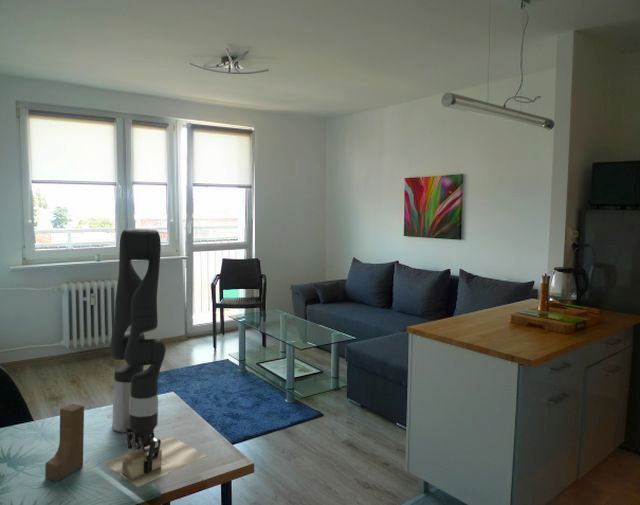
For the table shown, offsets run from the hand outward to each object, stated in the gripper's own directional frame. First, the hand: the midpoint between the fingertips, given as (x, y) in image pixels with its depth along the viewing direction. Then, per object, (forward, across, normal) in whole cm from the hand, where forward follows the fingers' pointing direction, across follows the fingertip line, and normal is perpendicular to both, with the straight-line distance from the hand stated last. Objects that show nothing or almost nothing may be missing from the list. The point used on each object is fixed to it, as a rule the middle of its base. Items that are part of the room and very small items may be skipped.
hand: (142, 468), depth 132 cm
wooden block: (+2, -17, -14) cm, 22 cm away
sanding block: (+1, 0, 0) cm, 1 cm away
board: (+2, -3, +6) cm, 7 cm away
